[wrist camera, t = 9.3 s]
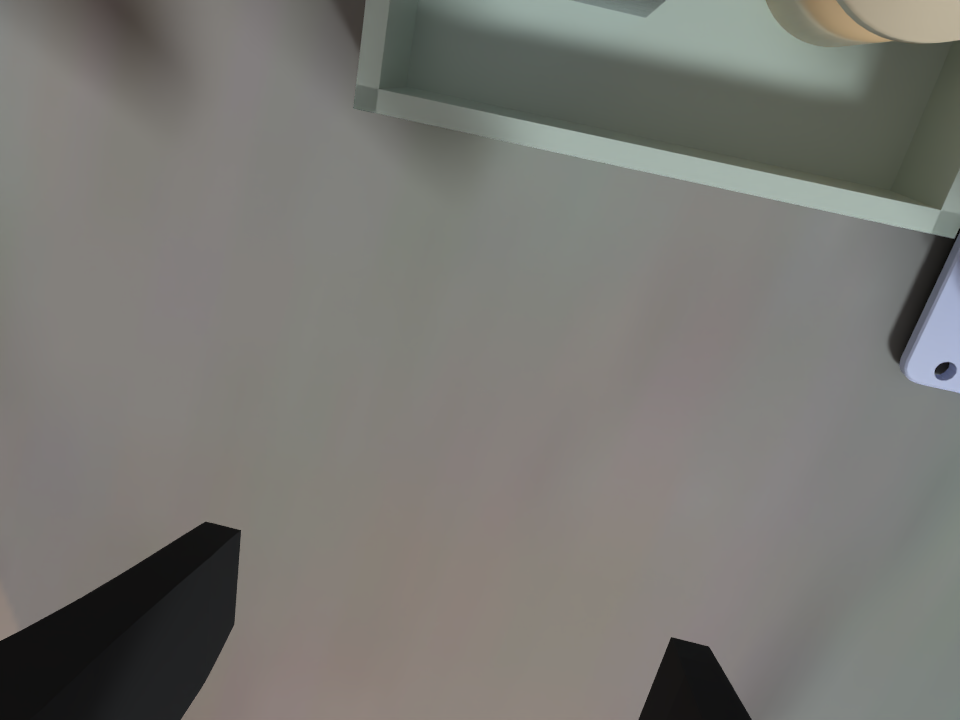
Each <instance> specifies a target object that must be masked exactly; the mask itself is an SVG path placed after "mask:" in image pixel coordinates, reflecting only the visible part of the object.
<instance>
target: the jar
mask: <svg viewBox="0 0 960 720" xmlns="http://www.w3.org/2000/svg"><path fill="white" fill-rule="evenodd" d="M766 3H767V5H768V8H769V10H770V11H771V13H772V15H773V16H774V18H775V19H776V21H777V22H778V23H779V24H780V26H781V27H783V28H784V29H785V30H786V31H787V32H788V33H789V34H791V35H792V36H794V37H795V38H797V39H799V40H801V41H803V42H806V43H809V44H812V45H815V46H822V47H844V46H853V45H862V44H871V43H881V42H890V41H896V42H902V43H910V44H930V43H941V42H950V41H957V40H960V0H766Z"/></svg>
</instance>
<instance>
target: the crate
mask: <svg viewBox="0 0 960 720" xmlns="http://www.w3.org/2000/svg"><path fill="white" fill-rule="evenodd" d="M353 108H354V109H358V110H363V111H367V112H372V113H377V114H381V115H386V116H390V117H395V118H400V119H404V120H409V121H413V122H418V123H423V124H427V125H432V126H437V127H441V128H446V129H450V130H455V131H460V132H464V133H469V134H473V135H478V136H483V137H487V138H492V139H496V140H501V141H506V142H510V143H515V144H520V145H524V146H529V147H533V148H538V149H543V150H547V151H552V152H556V153H561V154H566V155H570V156H575V157H579V158H584V159H589V160H593V161H598V162H602V163H607V164H612V165H616V166H621V167H626V168H630V169H635V170H639V171H644V172H649V173H653V174H658V175H662V176H667V177H672V178H676V179H681V180H685V181H690V182H695V183H699V184H704V185H709V186H713V187H718V188H722V189H727V190H732V191H736V192H741V193H745V194H750V195H755V196H759V197H764V198H768V199H773V200H778V201H782V202H787V203H791V204H796V205H801V206H805V207H810V208H815V209H819V210H824V211H828V212H833V213H838V214H842V215H847V216H851V217H856V218H861V219H865V220H870V221H874V222H879V223H884V224H888V225H893V226H898V227H902V228H907V229H911V230H916V231H921V232H925V233H930V234H934V235H939V236H944V237H948V238H953V239H954V238H955V236H956V234H957V232H958V230H959V228H960V40H957V41H950V42H941V43H930V44H910V43H902V42H896V41H890V42H881V43H871V44H862V45H853V46H844V47H822V46H815V45H812V44H809V43H806V42H803V41H801V40H799V39H797V38H795V37H794V36H792V35H791V34H789V33H788V32H787V31H786V30H785V29H784V28H783V27H781V26H780V24H779V23H778V22H777V21H776V19H775V18H774V16H773V15H772V13H771V11H770V10H769V8H768V5H767V3H766V0H666V1H665V2H664V3H663V4H661V5H660V6H659V7H658V8H657V9H655V10H654V11H653V12H652V13H651V14H650V15H648V16H647V17H646V18H644V17H640V16H636V15H631V14H627V13H623V12H619V11H614V10H610V9H606V8H601V7H597V6H593V5H589V4H584V3H580V2H576V1H572V0H366V3H365V12H364V20H363V29H362V38H361V46H360V55H359V64H358V73H357V81H356V90H355V99H354V107H353Z"/></svg>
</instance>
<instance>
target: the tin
mask: <svg viewBox="0 0 960 720" xmlns="http://www.w3.org/2000/svg"><path fill="white" fill-rule="evenodd" d="M572 1H576V2H580V3H584V4H589V5H593V6H597V7H601V8H606V9H610V10H614V11H619V12H623V13H627V14H631V15H636V16H640V17H644V18H646V17H647V16H648V15H650V14H651V13H652V12H653V11H654V10H655V9H657V8H658V7H659V6H660V5H661V4H663V3H664V2H665V1H666V0H572Z"/></svg>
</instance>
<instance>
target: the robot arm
mask: <svg viewBox="0 0 960 720" xmlns="http://www.w3.org/2000/svg"><path fill="white" fill-rule="evenodd" d="M943 362H949V368H948V369H947V370H946V371H945V372H944V373H942V374H940V375H934V372H935V368H936V367H937V366H938V365H939V364H941V363H943ZM899 365H900V369H901V372H902V373H903V374H904V375H905V376H906V377H907V378H908V379H909V380H910V381H913V382H915V383H918V384H922V385H926V386H931V387H935V388H940V389H944V390H948V391H953V392H957V393H960V233H959V235H958V237H957V239H956V241H955V243H954V246H953V248H952V250H951V252H950V254H949V256H948V258H947V261H946V263H945V265H944V267H943V269H942V271H941V273H940V275H939V278H938V280H937V282H936V284H935V286H934V288H933V290H932V292H931V295H930V297H929V299H928V301H927V303H926V305H925V307H924V310H923V312H922V314H921V316H920V318H919V320H918V322H917V324H916V327H915V329H914V331H913V333H912V335H911V337H910V339H909V341H908V344H907V346H906V348H905V350H904V352H903V354H902V356H901V360H900V364H899ZM240 537H241V530H238V529H233V528H229V527H225V526H221V525H217V524H213V523H209V522H204V523H203V524H201V525H199V526H198V527H196V528H194V529H193V530H191V531H189V532H188V533H186V534H185V535H183V536H181V537H180V538H178V539H177V540H175V541H173V542H172V543H170V544H169V545H167V546H165V547H164V548H162V549H161V550H159V551H157V552H156V553H154V554H153V555H151V556H149V557H148V558H146V559H145V560H143V561H141V562H140V563H138V564H137V565H135V566H133V567H132V568H130V569H129V570H127V571H125V572H124V573H122V574H120V575H119V576H117V577H115V578H114V579H112V580H110V581H109V582H107V583H105V584H103V585H102V586H100V587H98V588H97V589H95V590H93V591H92V592H90V593H88V594H87V595H85V596H83V597H82V598H80V599H78V600H76V601H75V602H73V603H71V604H69V605H67V606H65V607H63V608H62V609H60V610H58V611H56V612H54V613H52V614H51V615H49V616H47V617H45V618H43V619H41V620H40V621H38V622H36V623H34V624H32V625H30V626H29V627H27V628H25V629H23V630H21V631H19V632H17V633H15V634H13V635H11V636H9V637H7V638H5V639H3V640H1V641H0V720H181V718H182V717H183V715H184V714H185V712H186V711H187V709H188V708H189V706H190V705H191V703H192V701H193V700H194V698H195V697H196V695H197V694H198V692H199V691H200V689H201V688H202V686H203V684H204V683H205V681H206V679H207V677H208V675H209V673H210V672H211V670H212V668H213V666H214V664H215V662H216V660H217V658H218V656H219V654H220V652H221V650H222V648H223V646H224V644H225V642H226V640H227V638H228V636H229V634H230V632H231V630H232V628H233V626H234V621H235V607H236V593H237V579H238V565H239V551H240ZM639 720H752V719H751V718H750V716H749V714H748V713H747V711H746V709H745V707H744V706H743V704H742V702H741V701H740V699H739V697H738V695H737V694H736V692H735V690H734V689H733V687H732V685H731V683H730V682H729V680H728V678H727V676H726V675H725V673H724V671H723V670H722V668H721V666H720V664H719V663H718V661H717V659H716V658H715V656H714V654H713V653H712V651H711V649H710V648H709V647H708V646H704V645H700V644H696V643H692V642H688V641H684V640H680V639H676V638H672V637H671V639H670V642H669V644H668V647H667V649H666V652H665V654H664V657H663V659H662V662H661V664H660V667H659V669H658V672H657V674H656V677H655V679H654V682H653V684H652V687H651V689H650V692H649V695H648V697H647V700H646V702H645V705H644V707H643V710H642V712H641V715H640V717H639Z"/></svg>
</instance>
